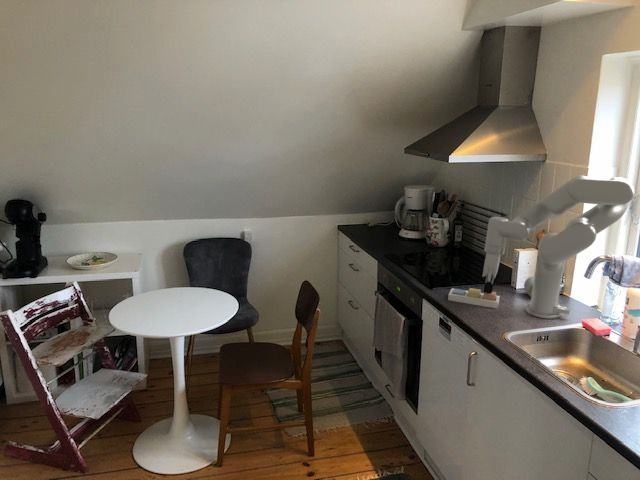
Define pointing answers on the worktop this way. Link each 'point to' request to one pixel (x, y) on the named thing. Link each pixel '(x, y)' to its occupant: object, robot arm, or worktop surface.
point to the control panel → (474, 299)
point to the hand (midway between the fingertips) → (487, 292)
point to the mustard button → (474, 293)
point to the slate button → (459, 292)
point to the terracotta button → (490, 296)
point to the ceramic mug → (529, 285)
